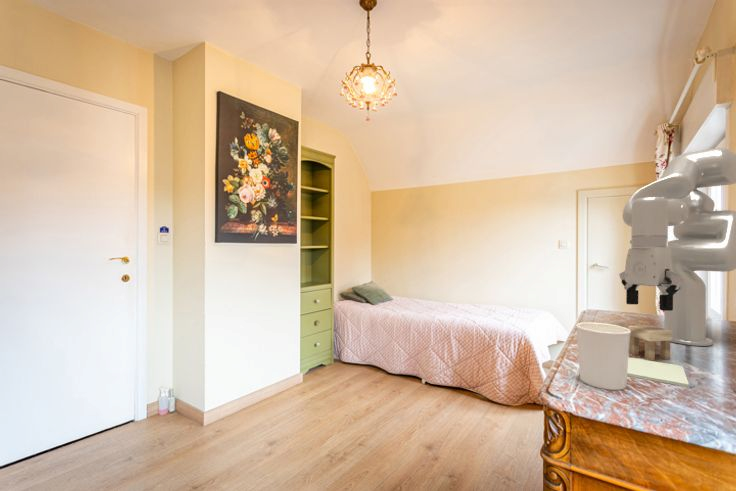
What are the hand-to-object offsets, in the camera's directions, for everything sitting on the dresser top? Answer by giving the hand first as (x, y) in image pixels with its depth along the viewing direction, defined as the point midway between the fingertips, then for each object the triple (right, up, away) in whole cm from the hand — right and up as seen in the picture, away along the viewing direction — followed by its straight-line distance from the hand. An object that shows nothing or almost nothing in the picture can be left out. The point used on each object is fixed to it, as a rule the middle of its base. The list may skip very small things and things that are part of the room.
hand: (648, 307), depth 91 cm
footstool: (+1, -13, 0) cm, 13 cm away
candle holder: (-24, -14, -17) cm, 32 cm away
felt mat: (-8, -13, -11) cm, 19 cm away
